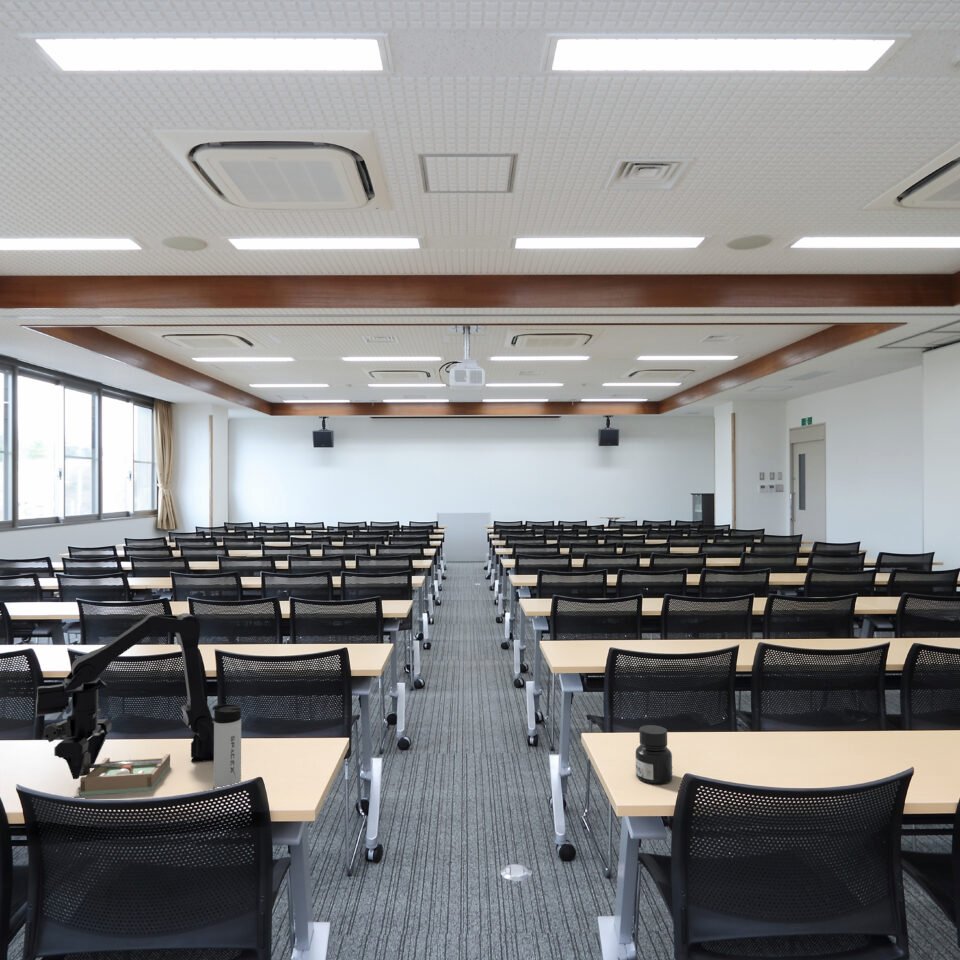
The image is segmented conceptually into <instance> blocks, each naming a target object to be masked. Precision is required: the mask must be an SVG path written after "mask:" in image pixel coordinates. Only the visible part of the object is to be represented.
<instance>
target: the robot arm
mask: <svg viewBox="0 0 960 960" xmlns="http://www.w3.org/2000/svg"><path fill="white" fill-rule="evenodd" d="M201 626H202V625H201V622H200V620H199V619H198V618H197V617H196V616H194V615H193V614H190V613H188V612H184V613H181V614H178V615H174V614H173V615H172V614H157V613H149V614H148V615H147V614H146V616H145V617H143V619H142V620H140V621H139V622H137V623H135V625H133V626H131V627H130V628H129V629H127V630H126V631H124V632H123V633H122V634H119V635H118V636H117V637H115V638H114V639H113V640H112V641H110V642H108V643H107V644H106V645H103V646H102V647H100V648H97V649H95V650H92V651H90V652H88V653H85V654H83V655H81V656H79V657H78V658H76V659H75V660H74V661H73V662H72V665H71V668H70V670H71V671H70V672H69V673H68V674H67V675H66V677H65V678H64V679H63V681H62V683H61V684H54V685H41V686H38V687H37V693H36V698H35V716H36V717H40V716H46V715H52V714H59V713H64V710H66V709H67V708H69V705H70V694H71V712H70V714H69V715H68V716H67V717H66V719H64V720H62V721H59V722H57V723H55V722H54V723H52V724H48V725H46V726H45V727H44V731H43V735H42V738H43V739H45V740H47V741H48V743H50V742H54V740H57V739H59V738H63V737H65V738H64V739H63V740H61V741H60V742H58V744H57V745H55V746H54V749H53V750H54V753H53V755H54V756H55V757H58V758H59V759H63V760H65V761H66V763H67V765H68V768H69V772H70V775H71V777H72V779H73V780H78V779H79V778H80V777H81V776H80V773H81V771H82V768H83V765H84V762H85V759H86V756H87V753H88V751H90V764H96V761H97V759H98V757H99V754H100V752H101V750H102V748H103V747H104V746H103V745H104V743H105V742H106V739H107V737H108V735H109V734H110V731H111V730H112V721H111V720H110V719H108V718H104V719H103V718H101V719H99V715H100V714H101V713H102V708H99V690H103V689H106V688H107V687H108V685H107V683H106V682H104V681H103V680H102V679H101V678H100V677H99V676H100V675H101V674H103V672H104V671H105V670H107V668H108V667H109V666H110V664H111V663H112V662H113V661H115V659H117V658H119V656H121V655H123V654H124V653H125V652H127V651H128V650H129V649H131V648H133V647H134V646H135V645H136V644H138V643H140V642H141V641H142V640H144V639H145V638H147V637H148V636H149V635H151V634H152V633H153V632H155V631H161V632H167V633H172V634H173V633H175V636H176V639H177V640H178V643H179V646H180V649H181V654H182V663H183V671H184V679H185V686H186V688H185V689H186V694H187V701H186V705H181V707H180V708H181V710H182V713H183V714H182V715H183V717H182V719H181V720H182V721H183V722H184V723H185V725H186V726H187V727H189V729H190V730H191V731H192V732H193V733H195V734H194V735H193V737H192V741H191V742H190V758H191V760H190V762H191V763H196V762H197V763H198V762H200V763H201V762H212V761H213V762H214V718H213V716H212V713H211V710H210V707H209V704H208V702H207V700H206V698H205V691H204V686H203V683H204V682H203V678H202V668H201V661H200V652H199V644H200V637H201V628H202V627H201Z"/></svg>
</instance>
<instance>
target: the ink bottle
mask: <svg viewBox="0 0 960 960" xmlns="http://www.w3.org/2000/svg"><path fill="white" fill-rule="evenodd" d="M639 744H640V745H639V746H637V747H636V749H635V776H636V778H637V779H638V780H639V781H641V782H644V783H646V784H650V785H651V784H652V785H664V784H668V783H671V781H672V780H673V754H672V751H671V750H670V749H669V748H668V729H667V728H665V727H662V726H660V725H654V724H648V725H642V726H640V727H639Z"/></svg>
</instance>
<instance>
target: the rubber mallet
mask: <svg viewBox="0 0 960 960" xmlns="http://www.w3.org/2000/svg"><path fill="white" fill-rule="evenodd" d="M150 764H162V760H153V761H137V762H121V763H105V764H100V763H94V764H90V751H88V753H87V756H86V759H85V762H84V765H83V768H82V771H81V773H80V776H79V777H86V776H87V775H88V774H89V773H90V772H91V769H94V768H103V767H119V766H121V769H124V768H125V769H128V770H129V771H130V774H133V766H134V765H150Z"/></svg>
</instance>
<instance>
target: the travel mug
mask: <svg viewBox="0 0 960 960" xmlns="http://www.w3.org/2000/svg"><path fill="white" fill-rule="evenodd" d="M212 711H214V713H213V714H214V716H213V717H214V718H213V721H214V761H213V789H214V788H217V787H223V786H227V785H232V784H235V783H239V782H241V783H242V709H241V706H239V705H236V704H214V706H213V707H212Z"/></svg>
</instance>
